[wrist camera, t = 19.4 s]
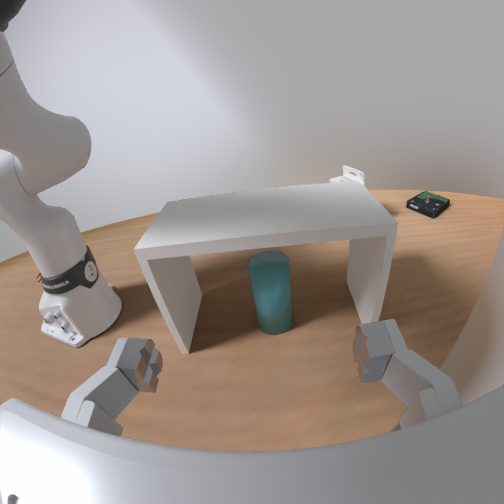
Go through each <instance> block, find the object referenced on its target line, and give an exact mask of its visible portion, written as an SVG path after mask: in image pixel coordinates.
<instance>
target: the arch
mask: <svg viewBox="0 0 504 504" xmlns="http://www.w3.org/2000/svg"><path fill="white" fill-rule="evenodd" d="M397 225H398V222H397V221H396V220H395V219H394V218H393V217H392V215H391V214H390V213H389V212H388V211H387V210H386V209H385V208H384V207H383V206H382V205H381V203H380V202H379V201H378V200H377V199H376V198H375V197H374V196H373V195H372V194H371V193H370V192H369V191H368V190H367V189H366V188H365V187H364V186H363V185H362V184H361V183H360V182H359V181H355V182H337V183H322V184H309V185H297V186H286V187H276V188H267V189H258V190H249V191H240V192H233V193H225V194H218V195H211V196H204V197H197V198H190V199H184V200H178V201H172V202H167V204H166V205H165V206H164V208H163V209H162V210H161V212H160V213H159V214H158V216H157V217H156V218H155V220H154V221H153V222H152V224H151V225H150V227H149V228H148V229H147V231H146V232H145V234H144V235H143V237H142V238H141V239H140V241H139V242H138V244H137V245H136V247H135V248H134V252H135V254H136V257H137V259H138V262H139V264H140V266H141V269H142V271H143V274H144V276H145V278H146V281H147V283H148V285H149V288H150V290H151V292H152V294H153V297H154V299H155V301H156V303H157V305H158V307H159V309H160V312H161V314H162V316H163V318H164V320H165V322H166V324H167V326H168V328H169V330H170V332H171V334H172V336H173V338H174V340H175V342H176V344H177V346H178V347H179V349H180V351H181V353H182V354H189V351H190V346H191V342H192V337H193V333H194V328H195V324H196V320H197V316H198V311H199V307H200V303H201V299H202V293H201V290H200V287H199V284H198V281H197V277H196V274H195V271H194V268H193V264H192V261H191V258H190V255H200V254H210V253H220V252H229V251H239V250H249V249H259V248H269V247H279V246H289V245H300V244H310V243H320V242H330V241H340V240H350V245H349V259H348V271H347V281H346V282H347V285H348V287H349V290H350V293H351V296H352V298H353V301H354V304H355V307H356V309H357V312H358V315H359V318H360V321H361V324H365V323H371V322H376V321H378V320H379V317H380V313H381V309H382V305H383V301H384V296H385V292H386V287H387V283H388V278H389V273H390V268H391V263H392V257H393V251H394V245H395V239H396V232H397Z"/></svg>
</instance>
